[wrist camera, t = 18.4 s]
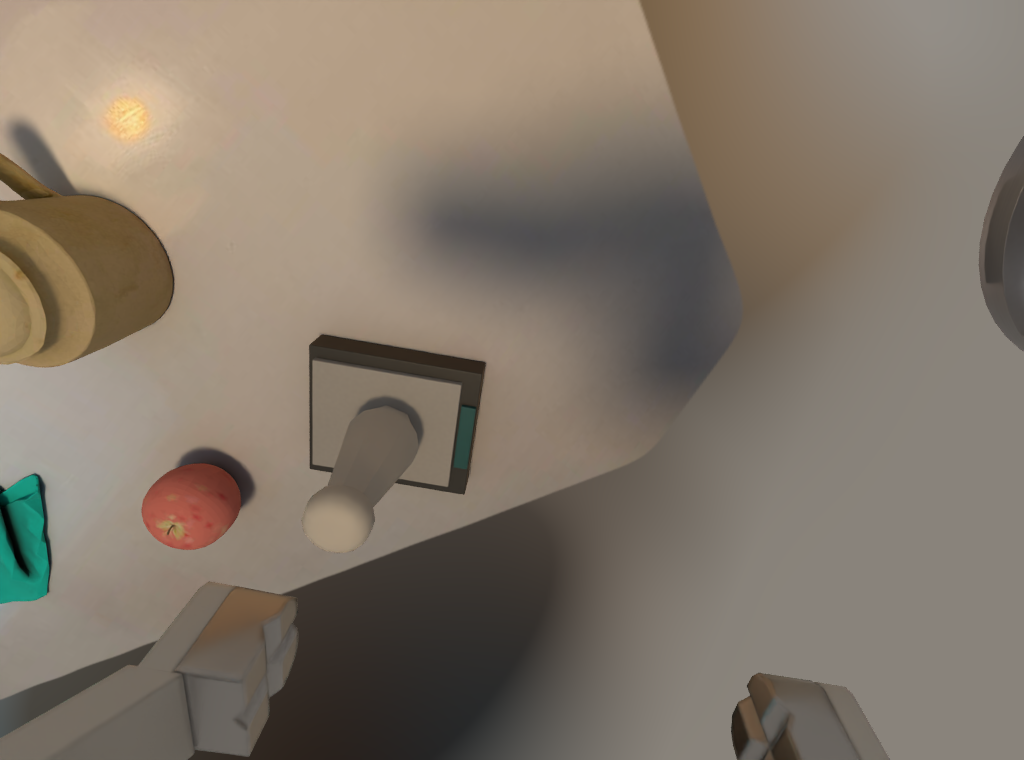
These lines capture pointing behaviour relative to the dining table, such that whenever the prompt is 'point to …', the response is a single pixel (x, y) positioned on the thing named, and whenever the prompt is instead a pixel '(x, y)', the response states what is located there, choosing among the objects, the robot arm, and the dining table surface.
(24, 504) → the cloth
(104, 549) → the dining table surface
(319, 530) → the salt shaker
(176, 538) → the apple
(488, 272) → the dining table surface
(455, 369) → the scale
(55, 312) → the sugar bowl
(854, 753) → the robot arm
